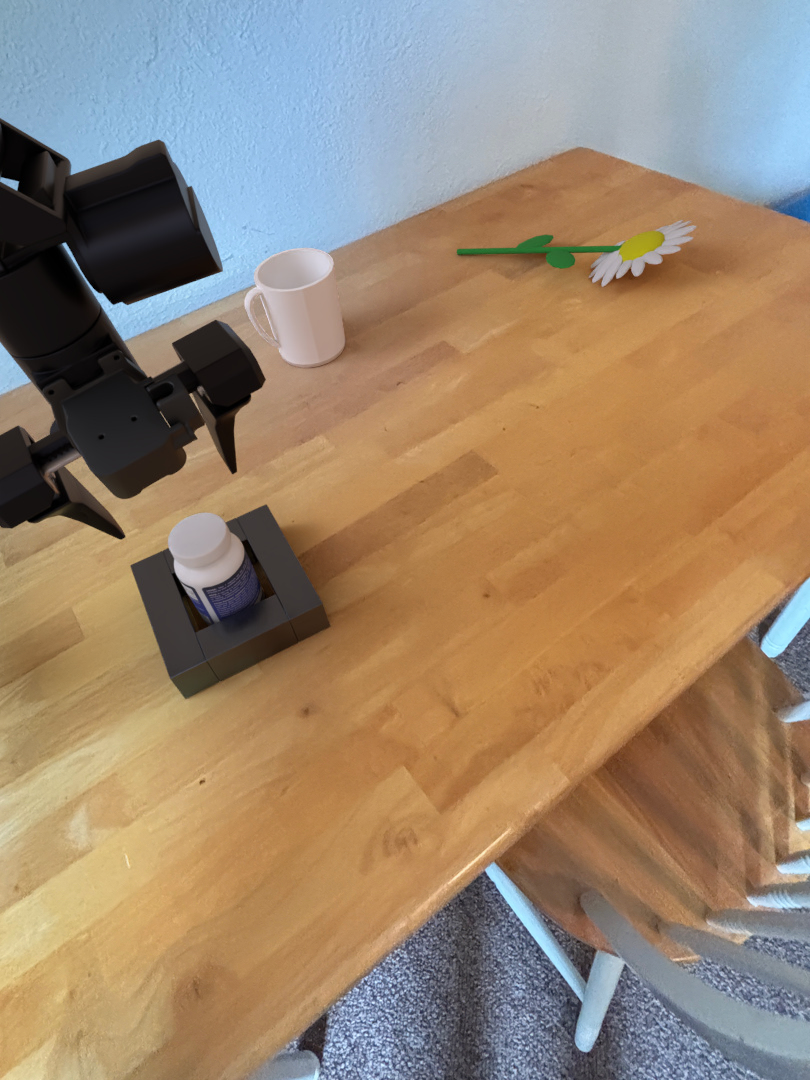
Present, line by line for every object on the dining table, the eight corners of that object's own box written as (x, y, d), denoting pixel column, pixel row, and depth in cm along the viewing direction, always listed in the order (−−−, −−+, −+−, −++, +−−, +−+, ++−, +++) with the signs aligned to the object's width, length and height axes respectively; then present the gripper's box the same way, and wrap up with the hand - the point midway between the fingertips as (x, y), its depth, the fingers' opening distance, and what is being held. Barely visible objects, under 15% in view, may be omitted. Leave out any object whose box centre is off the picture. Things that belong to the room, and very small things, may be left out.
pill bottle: (273, 580, 64) (241, 506, 56) (258, 635, 60) (222, 564, 52) (212, 579, 64) (173, 506, 57) (194, 633, 61) (149, 563, 53)
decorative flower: (443, 295, 94) (683, 297, 81) (437, 259, 90) (686, 256, 77) (477, 251, 101) (701, 247, 88) (472, 217, 98) (705, 207, 85)
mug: (327, 317, 89) (310, 239, 81) (363, 349, 84) (348, 269, 76) (249, 352, 86) (223, 275, 78) (281, 388, 81) (257, 309, 73)
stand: (185, 699, 57) (169, 678, 54) (145, 588, 65) (129, 564, 62) (331, 626, 60) (323, 603, 57) (275, 528, 68) (266, 503, 65)
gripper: (-90, 490, 33) (91, 648, 46) (252, 306, 37) (336, 498, 49) (-110, 380, 40) (52, 544, 52) (181, 234, 44) (270, 418, 56)
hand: (178, 502), depth 52 cm, fingers open, 9 cm apart
